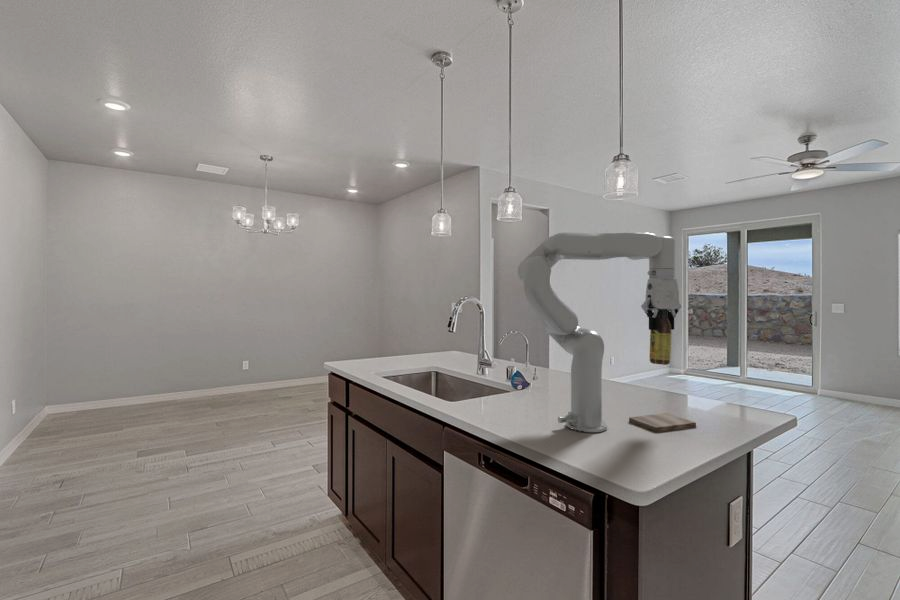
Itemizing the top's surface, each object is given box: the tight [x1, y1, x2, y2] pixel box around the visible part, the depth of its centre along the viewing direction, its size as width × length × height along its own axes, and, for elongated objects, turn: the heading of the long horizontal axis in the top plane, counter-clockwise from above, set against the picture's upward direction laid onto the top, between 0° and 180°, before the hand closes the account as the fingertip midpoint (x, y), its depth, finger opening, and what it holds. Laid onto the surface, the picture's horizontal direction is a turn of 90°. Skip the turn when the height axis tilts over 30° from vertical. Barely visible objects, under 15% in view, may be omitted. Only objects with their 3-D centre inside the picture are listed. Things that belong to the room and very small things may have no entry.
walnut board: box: [628, 412, 697, 433], centre depth 144 cm, size 16×12×2 cm
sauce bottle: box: [649, 309, 672, 366], centre depth 144 cm, size 6×6×20 cm
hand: (661, 329), depth 144 cm, fingers closed on sauce bottle, 6 cm apart
